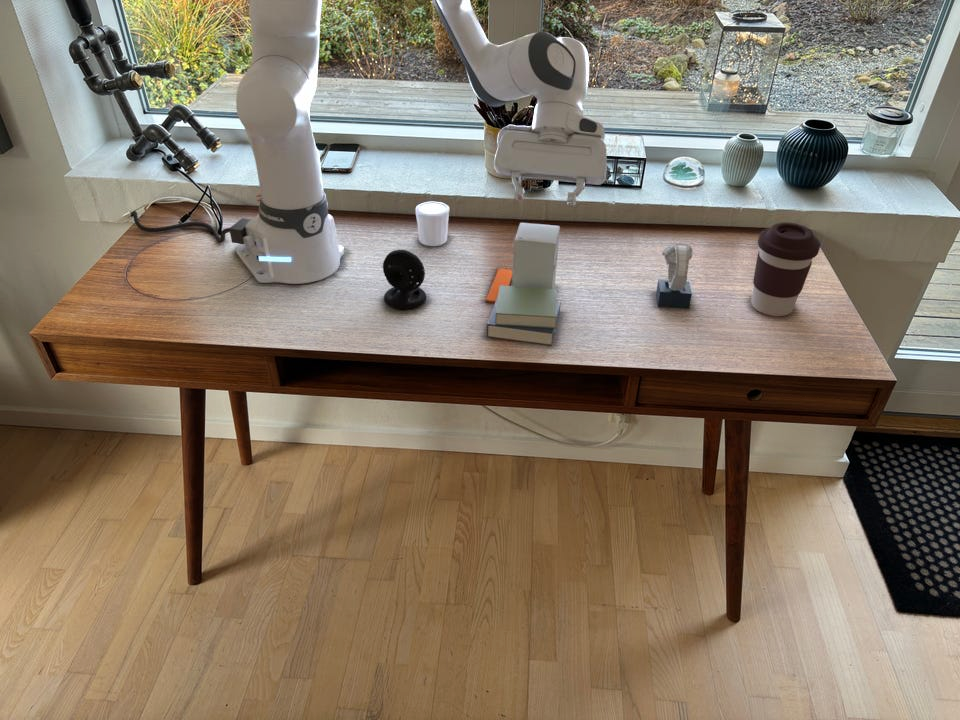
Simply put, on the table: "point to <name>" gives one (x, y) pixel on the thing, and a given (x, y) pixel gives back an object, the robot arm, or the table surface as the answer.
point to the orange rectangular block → (499, 284)
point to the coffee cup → (782, 267)
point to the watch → (675, 278)
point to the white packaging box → (535, 256)
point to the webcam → (404, 280)
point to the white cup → (432, 223)
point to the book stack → (525, 315)
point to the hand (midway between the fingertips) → (544, 201)
